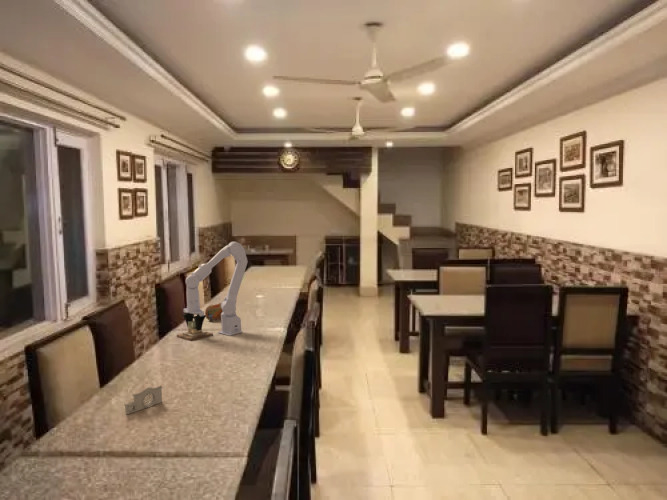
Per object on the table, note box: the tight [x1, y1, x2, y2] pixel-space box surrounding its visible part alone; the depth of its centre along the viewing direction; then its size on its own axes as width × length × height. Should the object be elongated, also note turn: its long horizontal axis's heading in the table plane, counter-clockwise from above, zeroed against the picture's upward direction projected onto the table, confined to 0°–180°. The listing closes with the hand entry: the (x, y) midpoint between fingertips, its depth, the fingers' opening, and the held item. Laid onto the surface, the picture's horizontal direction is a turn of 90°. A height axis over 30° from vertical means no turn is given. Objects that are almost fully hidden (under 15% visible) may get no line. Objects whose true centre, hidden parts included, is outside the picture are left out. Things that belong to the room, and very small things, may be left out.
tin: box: [204, 302, 223, 322], centre depth 270 cm, size 15×3×8 cm, turn 143°
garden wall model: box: [123, 385, 163, 415], centre depth 151 cm, size 12×2×6 cm, turn 141°
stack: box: [187, 319, 203, 335], centre depth 235 cm, size 4×4×6 cm
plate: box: [176, 330, 214, 342], centre depth 235 cm, size 12×12×2 cm
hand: (194, 329), depth 235 cm, fingers open, 7 cm apart
